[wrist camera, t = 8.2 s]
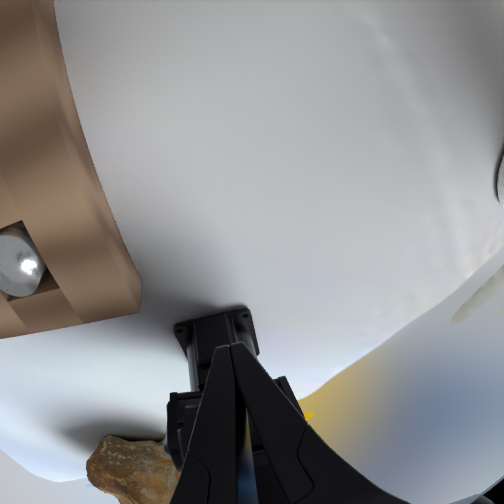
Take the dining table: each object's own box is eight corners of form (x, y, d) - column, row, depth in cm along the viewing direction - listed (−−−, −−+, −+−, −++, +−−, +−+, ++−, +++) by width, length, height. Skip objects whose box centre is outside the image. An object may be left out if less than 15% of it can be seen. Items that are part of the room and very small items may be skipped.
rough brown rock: (96, 404, 32) (84, 512, 20) (216, 430, 38) (224, 529, 26) (86, 448, 43) (80, 518, 30) (169, 467, 49) (171, 533, 36)
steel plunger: (63, 259, 19) (50, 289, 16) (20, 272, 18) (5, 301, 16) (36, 205, 16) (17, 231, 14) (-8, 224, 16) (-28, 250, 13)
